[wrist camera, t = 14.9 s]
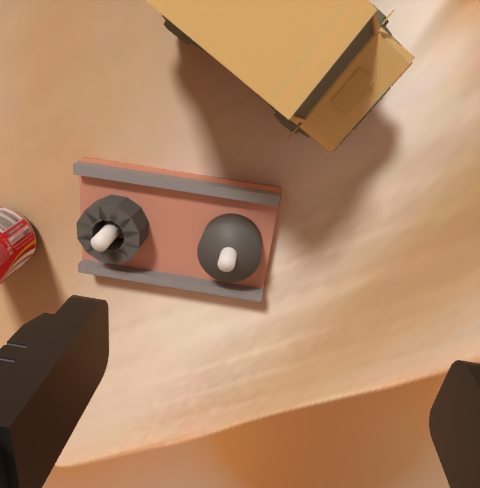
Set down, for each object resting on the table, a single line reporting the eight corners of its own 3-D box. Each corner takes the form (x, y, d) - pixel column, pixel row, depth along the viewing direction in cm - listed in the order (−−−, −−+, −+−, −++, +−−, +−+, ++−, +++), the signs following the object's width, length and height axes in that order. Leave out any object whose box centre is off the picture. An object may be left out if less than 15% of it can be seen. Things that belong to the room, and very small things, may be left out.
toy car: (317, 144, 39) (334, 195, 26) (149, 4, 35) (66, -23, 22) (400, 48, 35) (473, 48, 21) (220, -122, 31) (171, -250, 18)
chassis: (280, 187, 41) (280, 211, 35) (262, 288, 46) (259, 323, 40) (85, 157, 42) (52, 175, 36) (89, 260, 47) (61, 290, 41)
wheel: (149, 200, 41) (140, 211, 39) (147, 254, 44) (138, 268, 41) (89, 190, 42) (75, 200, 39) (90, 245, 44) (78, 258, 42)
